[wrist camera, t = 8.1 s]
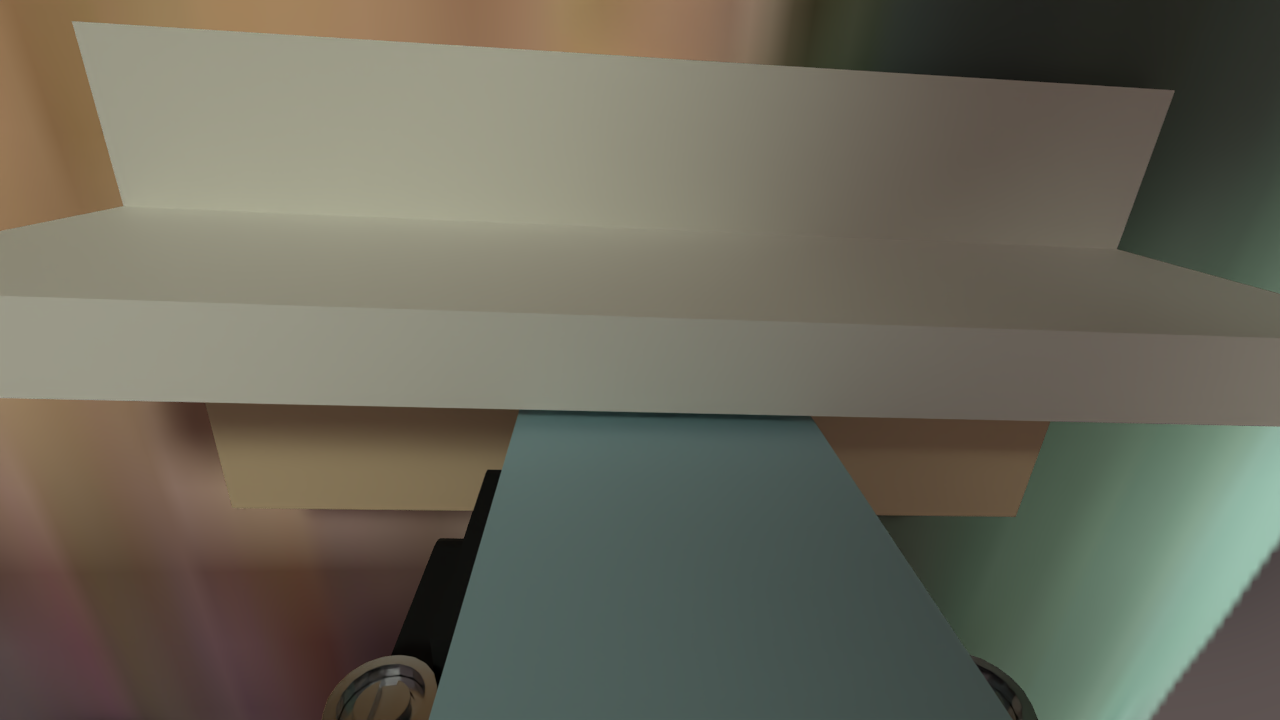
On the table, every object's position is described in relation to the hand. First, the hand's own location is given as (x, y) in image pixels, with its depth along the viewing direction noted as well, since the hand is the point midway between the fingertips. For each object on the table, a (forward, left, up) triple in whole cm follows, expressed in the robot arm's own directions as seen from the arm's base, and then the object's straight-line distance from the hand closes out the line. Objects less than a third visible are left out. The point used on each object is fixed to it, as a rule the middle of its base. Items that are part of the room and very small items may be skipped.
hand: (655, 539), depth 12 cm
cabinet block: (0, 0, -2) cm, 2 cm away
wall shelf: (-2, -3, -7) cm, 8 cm away
